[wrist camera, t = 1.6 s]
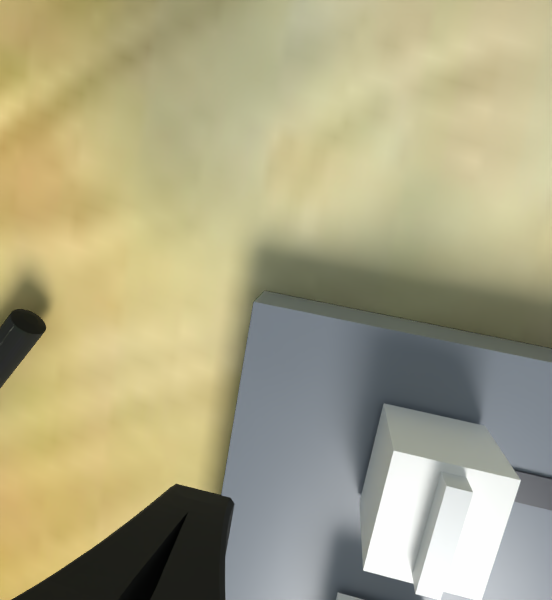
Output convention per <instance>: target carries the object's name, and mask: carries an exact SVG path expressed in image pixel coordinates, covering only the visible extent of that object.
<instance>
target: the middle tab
mask: <svg viewBox="0 0 552 600" xmlns="http://www.w3.org/2000/svg"><path fill="white" fill-rule="evenodd" d="M336 600H364V599H360V598H356V597H352V596H349V595H345V594H341V593H337V597H336Z"/></svg>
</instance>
